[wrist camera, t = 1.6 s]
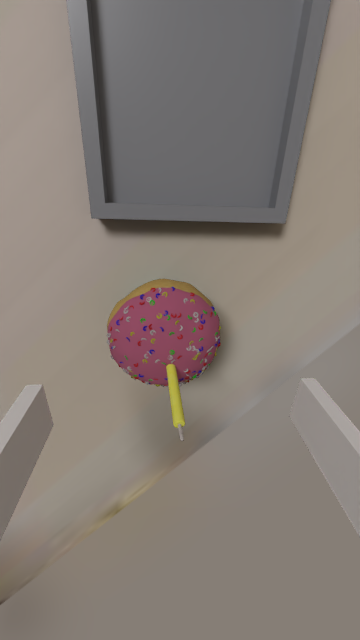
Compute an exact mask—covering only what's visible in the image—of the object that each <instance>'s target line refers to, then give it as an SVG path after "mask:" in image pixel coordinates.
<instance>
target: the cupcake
mask: <svg viewBox="0 0 360 640" xmlns="http://www.w3.org/2000/svg"><path fill="white" fill-rule="evenodd" d="M220 328H221V327H220V326H219V317H218V315H217V313H216V312H215V310H214V307H213V305H212V303H211V302H210V300H209V299H207V298H206V297H205V296H204V295H203V294H202V293H201V292H199V291H198V290H197V289H196V288H195V287H194V286H192V285H191V284H188V283H186V282H179V281H174V280H169V279H158V280H153V281H150V282H148V283H145V284H144V285H142V286H140V287H138V288H136V289H135V290H134V291H132V292H131V293H130V294H129V295H128V296H126V297H125V298H124V299H122V300H120V301H119V302H118V303H117V304H116V305H115V307H114V309H113V310H112V312H111V314H110V317H109V320H108V324H107V330H108V334H107V337H108V340H107V343H108V341H109V343H108V344H109V347H110V352H111V358H112V357H113V358H112V359H114V360H115V361H116V362H117V364H118V365H119V367H121V368H122V369H123V371H124V372H126V373H127V374H129V375H131V378H134V379H135V380H136V379H138V380H141V381H142V382H143V383H146V384H147V385H148V384H154V385H156V386H157V385H158V386H160V385H161V386H163V385H164V386H166V387H168V386H169V393H170V401H171V409H172V417H173V425H174V427H176V428H178V430H179V436H180V440H181V441H183V440H184V437H183V431H182V427H183V426H184V425H185V420H184V414H183V408H182V402H181V396H180V390H179V386H181V383H183V384H186V382H189V379H190V380H193V379H194V378H195V377H196V378H198V377H199V375H201V374H202V373H203V371H204V370H205V369H208V368H209V365H210V363H211V361H212V360H213V358H214V356H216V351H217V348H218V347H219V346H220ZM206 367H208V368H206ZM200 373H201V374H200ZM197 376H198V377H197ZM192 378H193V379H192ZM179 384H180V385H179ZM164 386H163V387H164Z"/></svg>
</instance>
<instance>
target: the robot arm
mask: <svg viewBox="0 0 360 640" xmlns="http://www.w3.org/2000/svg"><path fill="white" fill-rule="evenodd" d="M289 417H290V419H291V421H292V422H293V424H294V426H295V427H296V429H297V431H298V432H299V434H300V436H301V438H302V439H303V441H304V442H305V444H306V446H307V448H308V450H309V451H310V453H311V454H312V456H313V458H314V460H315V462H316V463H317V465H318V467H319V468H320V470H321V472H322V474H323V475H324V477H325V479H326V480H327V482H328V484H329V486H330V487H331V489H332V491H333V492H334V494H335V496H336V497H337V499H338V501H339V503H340V504H341V506H342V508H343V509H344V511H345V513H346V514H347V516H348V518H349V520H350V521H351V523H352V525H353V526H354V528H355V530H356V532H357V533H358V535H359V537H360V431H359V430H358V429H357V428H356V427H355V426H354V424H353V423H352V422H351V421H350V420H349V418H347V416H346V415H345V414H344V413H343V412H342V410H341V409H340V408H339V407H338V405H337V404H336V403H335V402H334V401H333V399H331V397H330V396H329V395H328V394H327V392H326V391H325V390H324V389H323V388H322V387H321V385H320V384H319V383H318V382H317V381H316V379H315V378H301V379H300V383H299V386H298V389H297V392H296V395H295V399H294V402H293V405H292V408H291V411H290V415H289ZM52 427H53V421H52V417H51V413H50V410H49V406H48V402H47V399H46V395H45V391H44V387H43V385H26V386H25V388H24V389H23V390H22V392H21V393H20V395H19V396H18V398H17V399H16V401H15V402H14V403H13V405H12V406H11V408H10V409H9V411H8V412H7V413H6V415H5V416H4V418H3V419H2V421H1V422H0V540H1V538H2V536H3V534H4V532H5V530H6V527H7V525H8V523H9V521H10V519H11V516H12V514H13V512H14V510H15V508H16V506H17V503H18V501H19V499H20V497H21V495H22V492H23V490H24V488H25V486H26V484H27V482H28V479H29V477H30V475H31V473H32V471H33V468H34V466H35V464H36V462H37V460H38V458H39V455H40V453H41V451H42V449H43V447H44V444H45V442H46V440H47V438H48V436H49V434H50V431H51V429H52Z"/></svg>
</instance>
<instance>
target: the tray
mask: <svg viewBox="0 0 360 640" xmlns="http://www.w3.org/2000/svg"><path fill="white" fill-rule="evenodd" d="M66 1H67V10H68V19H69V27H70V36H71V45H72V53H73V62H74V71H75V79H76V88H77V96H78V105H79V114H80V122H81V131H82V140H83V148H84V157H85V166H86V174H87V183H88V192H89V200H90V209H91V218H96V219H134V220H173V221H212V222H251V223H285V222H286V217H287V213H288V208H289V203H290V198H291V193H292V188H293V183H294V178H295V173H296V168H297V164H298V159H299V154H300V149H301V144H302V139H303V134H304V129H305V124H306V119H307V115H308V110H309V105H310V100H311V95H312V90H313V85H314V80H315V75H316V71H317V66H318V61H319V56H320V51H321V46H322V41H323V36H324V31H325V26H326V22H327V17H328V12H329V7H330V2H331V0H66Z"/></svg>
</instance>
